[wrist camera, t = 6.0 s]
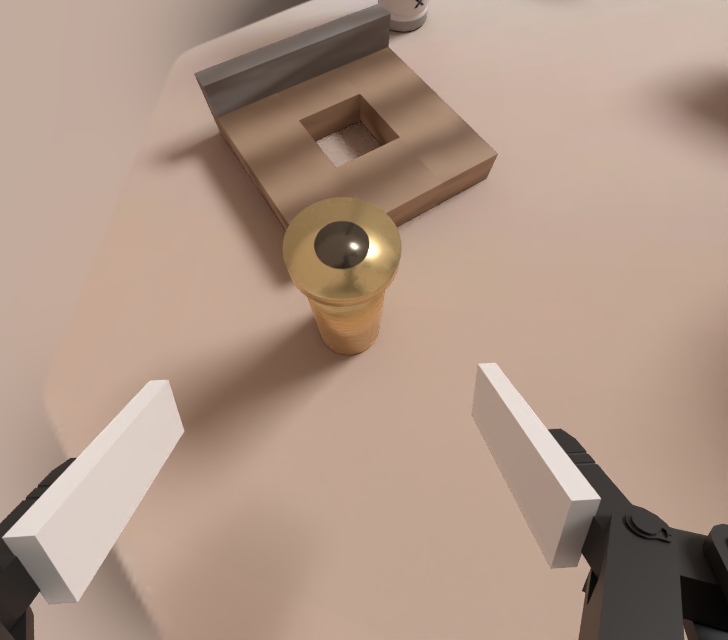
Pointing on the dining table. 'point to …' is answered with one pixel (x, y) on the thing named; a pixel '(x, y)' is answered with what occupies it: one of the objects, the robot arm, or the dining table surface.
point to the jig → (342, 121)
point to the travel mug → (406, 13)
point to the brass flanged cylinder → (343, 267)
